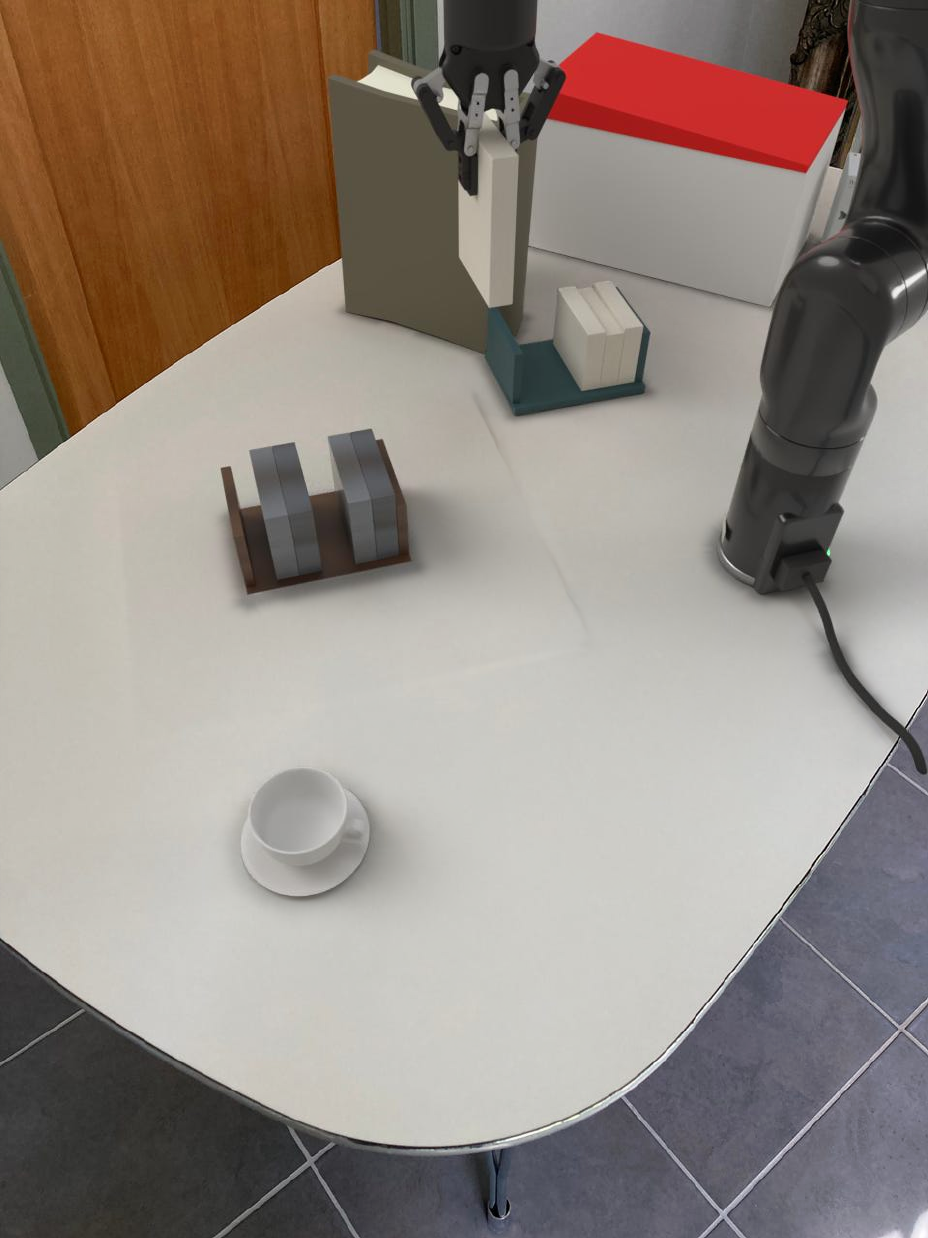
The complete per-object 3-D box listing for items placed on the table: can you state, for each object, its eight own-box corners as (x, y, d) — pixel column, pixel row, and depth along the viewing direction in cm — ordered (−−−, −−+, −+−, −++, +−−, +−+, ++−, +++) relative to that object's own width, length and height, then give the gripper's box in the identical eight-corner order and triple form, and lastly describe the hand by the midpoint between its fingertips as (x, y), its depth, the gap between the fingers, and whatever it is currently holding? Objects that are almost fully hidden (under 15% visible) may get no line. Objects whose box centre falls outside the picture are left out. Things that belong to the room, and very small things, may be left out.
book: (527, 324, 122) (548, 91, 101) (494, 361, 117) (509, 124, 95) (383, 277, 128) (373, 49, 107) (345, 311, 123) (328, 77, 102)
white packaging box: (817, 266, 130) (845, 173, 121) (820, 240, 135) (848, 149, 125) (873, 275, 129) (906, 182, 119) (874, 248, 134) (906, 156, 124)
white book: (512, 304, 92) (519, 155, 81) (489, 308, 91) (492, 159, 80) (481, 253, 98) (483, 108, 87) (458, 256, 97) (457, 112, 87)
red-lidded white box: (580, 183, 146) (594, 31, 130) (808, 236, 136) (854, 78, 120) (523, 244, 134) (532, 85, 118) (769, 307, 124) (814, 142, 108)
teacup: (223, 886, 72) (211, 858, 68) (265, 774, 78) (255, 742, 75) (352, 909, 71) (346, 881, 67) (383, 793, 77) (379, 762, 74)
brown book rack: (412, 568, 94) (408, 499, 87) (248, 601, 91) (231, 533, 84) (385, 488, 101) (379, 420, 94) (233, 517, 98) (215, 448, 91)
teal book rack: (644, 392, 112) (655, 329, 106) (514, 416, 109) (517, 352, 103) (606, 336, 119) (615, 274, 113) (484, 357, 117) (485, 293, 110)
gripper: (417, -7, 71) (424, 219, 84) (592, -25, 73) (572, 197, 87) (392, -37, 76) (403, 182, 89) (557, -53, 78) (544, 162, 91)
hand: (487, 188), depth 88 cm, fingers closed on white book, 2 cm apart
